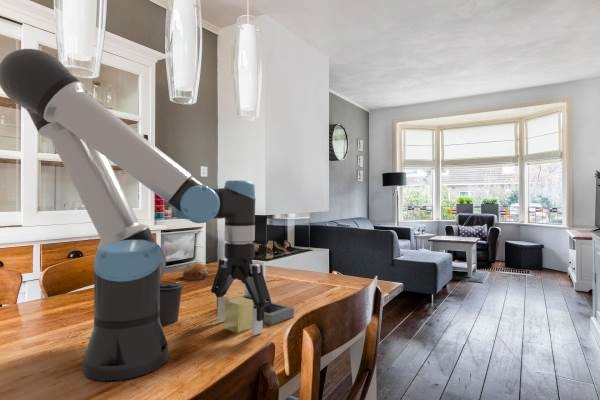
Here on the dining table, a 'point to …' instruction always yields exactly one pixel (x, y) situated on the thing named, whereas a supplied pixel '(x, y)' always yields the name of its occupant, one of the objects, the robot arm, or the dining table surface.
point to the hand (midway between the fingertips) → (239, 327)
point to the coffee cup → (169, 302)
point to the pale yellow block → (238, 314)
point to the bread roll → (195, 272)
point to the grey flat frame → (275, 312)
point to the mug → (248, 277)
